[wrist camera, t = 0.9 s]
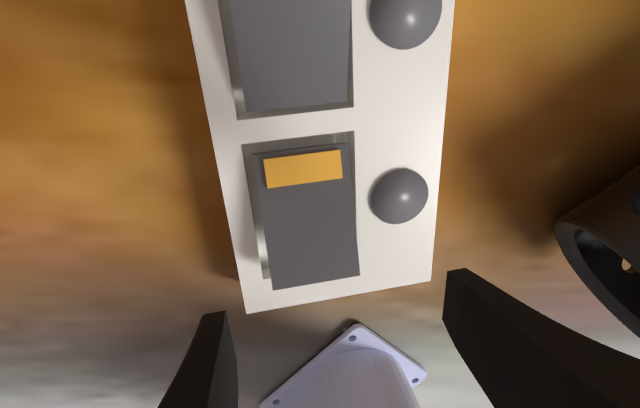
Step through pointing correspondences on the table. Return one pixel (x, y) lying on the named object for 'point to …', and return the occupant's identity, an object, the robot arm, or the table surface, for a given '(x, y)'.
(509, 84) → the table surface
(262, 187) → the rocker
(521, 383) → the robot arm
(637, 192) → the black foam roller
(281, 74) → the middle rocker
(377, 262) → the switch strip
